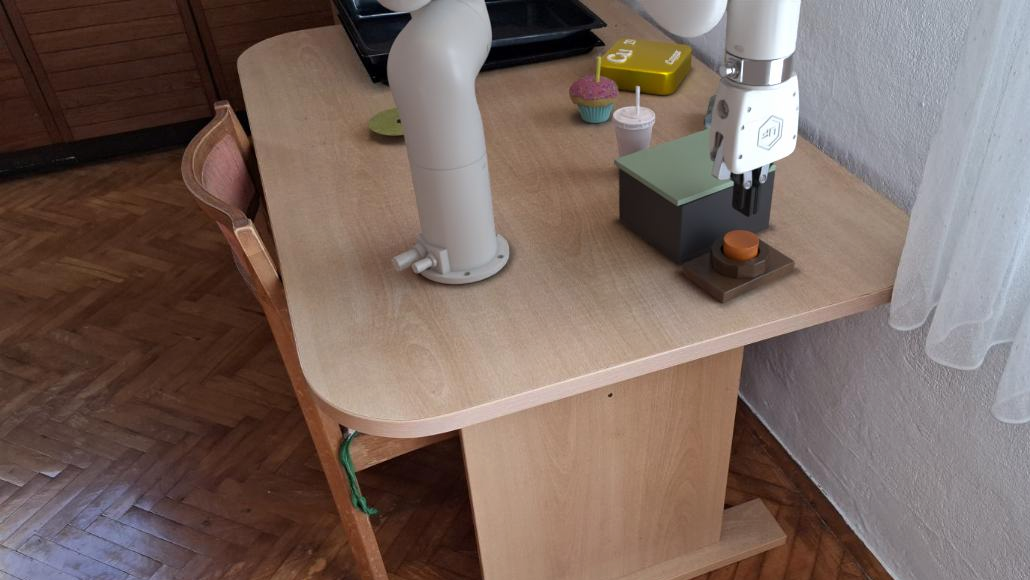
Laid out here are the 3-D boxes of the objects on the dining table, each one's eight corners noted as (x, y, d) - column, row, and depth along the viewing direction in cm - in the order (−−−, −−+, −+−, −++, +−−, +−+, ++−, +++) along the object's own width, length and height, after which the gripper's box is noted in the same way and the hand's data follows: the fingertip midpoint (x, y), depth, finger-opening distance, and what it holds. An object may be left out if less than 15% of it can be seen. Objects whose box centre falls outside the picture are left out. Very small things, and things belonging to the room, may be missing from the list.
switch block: (722, 303, 106) (725, 280, 103) (682, 274, 111) (683, 250, 108) (793, 271, 111) (797, 248, 108) (751, 244, 116) (754, 221, 114)
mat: (417, 149, 140) (415, 138, 139) (357, 140, 143) (355, 129, 142) (448, 120, 148) (446, 110, 147) (391, 113, 151) (389, 102, 150)
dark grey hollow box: (679, 265, 112) (682, 206, 107) (618, 221, 121) (618, 164, 116) (768, 228, 119) (775, 170, 114) (704, 188, 128) (708, 133, 122)
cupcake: (628, 119, 147) (629, 50, 140) (588, 132, 144) (585, 62, 136) (600, 103, 153) (599, 36, 145) (560, 115, 149) (557, 47, 142)
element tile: (671, 97, 154) (672, 71, 151) (593, 87, 158) (593, 61, 155) (693, 67, 165) (694, 42, 162) (620, 58, 169) (620, 34, 166)
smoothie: (650, 185, 129) (652, 96, 120) (609, 181, 130) (608, 93, 122) (656, 165, 134) (659, 79, 125) (616, 162, 135) (616, 76, 126)
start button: (738, 265, 106) (739, 252, 105) (715, 250, 109) (716, 237, 108) (764, 254, 108) (766, 241, 107) (741, 239, 111) (742, 226, 110)
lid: (677, 206, 106) (677, 200, 106) (613, 164, 115) (613, 159, 115) (775, 170, 113) (776, 164, 113) (708, 133, 122) (708, 128, 122)
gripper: (729, 92, 88) (718, 243, 99) (832, 58, 94) (811, 204, 106) (683, 70, 93) (678, 216, 104) (784, 39, 99) (769, 181, 111)
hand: (745, 210), depth 105 cm, fingers closed
